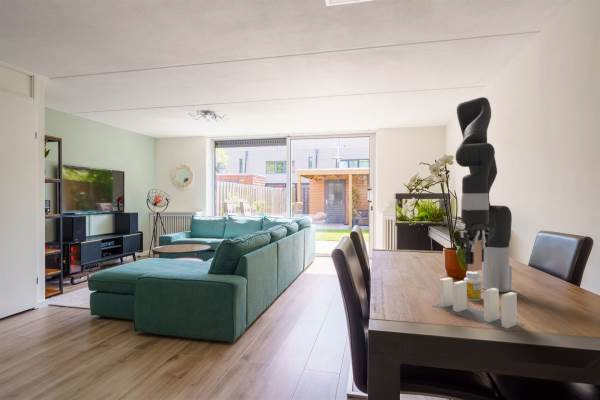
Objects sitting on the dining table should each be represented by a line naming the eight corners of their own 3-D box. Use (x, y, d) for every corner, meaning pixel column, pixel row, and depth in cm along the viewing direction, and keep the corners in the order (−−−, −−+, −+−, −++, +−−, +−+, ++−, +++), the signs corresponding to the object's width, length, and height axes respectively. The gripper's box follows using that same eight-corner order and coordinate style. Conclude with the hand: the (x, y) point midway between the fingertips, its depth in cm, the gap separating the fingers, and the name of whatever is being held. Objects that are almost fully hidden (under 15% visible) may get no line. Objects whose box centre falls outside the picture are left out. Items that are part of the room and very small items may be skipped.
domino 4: (483, 320, 96) (483, 290, 96) (493, 317, 98) (493, 287, 98) (489, 322, 94) (489, 291, 94) (498, 318, 97) (498, 289, 97)
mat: (432, 307, 109) (432, 306, 109) (448, 302, 113) (448, 301, 113) (508, 333, 88) (508, 331, 88) (524, 325, 93) (524, 324, 93)
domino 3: (467, 270, 100) (467, 241, 100) (477, 268, 102) (477, 240, 102) (472, 271, 98) (472, 242, 98) (482, 269, 101) (482, 241, 101)
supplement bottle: (460, 297, 119) (460, 270, 119) (474, 296, 119) (474, 270, 119) (469, 301, 114) (469, 274, 113) (484, 301, 114) (484, 273, 114)
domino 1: (439, 305, 109) (439, 279, 109) (448, 303, 111) (448, 277, 111) (443, 307, 107) (443, 280, 107) (452, 304, 110) (452, 278, 110)
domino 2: (452, 310, 104) (452, 282, 104) (462, 307, 107) (462, 280, 107) (457, 311, 103) (457, 283, 103) (466, 308, 106) (466, 281, 105)
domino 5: (501, 326, 92) (501, 294, 91) (510, 322, 94) (510, 291, 94) (507, 328, 90) (507, 296, 90) (516, 324, 93) (516, 293, 93)
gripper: (476, 207, 107) (476, 258, 107) (449, 208, 100) (449, 263, 100) (499, 207, 101) (499, 262, 101) (473, 209, 93) (473, 267, 94)
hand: (474, 262), depth 100 cm, fingers closed on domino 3, 5 cm apart
